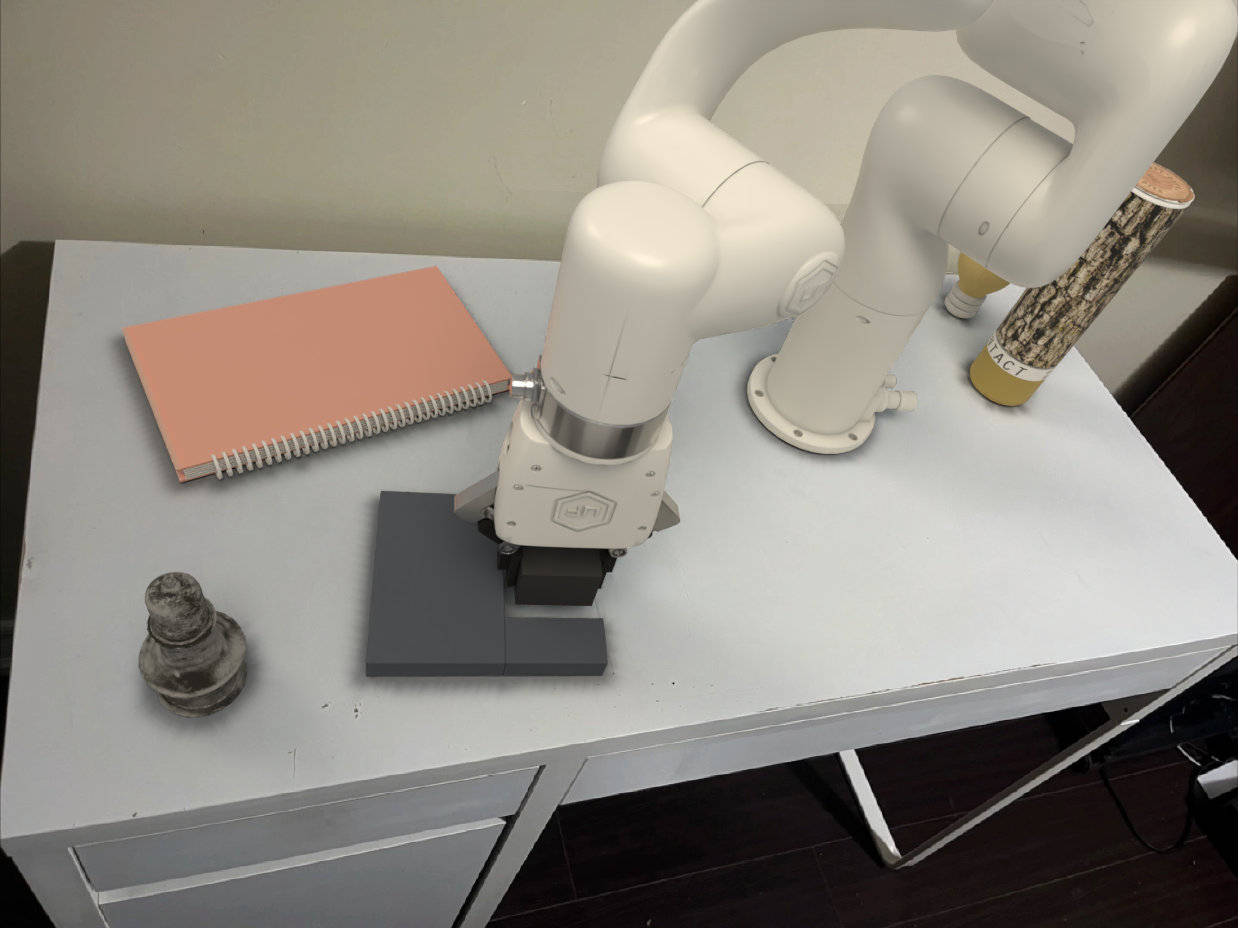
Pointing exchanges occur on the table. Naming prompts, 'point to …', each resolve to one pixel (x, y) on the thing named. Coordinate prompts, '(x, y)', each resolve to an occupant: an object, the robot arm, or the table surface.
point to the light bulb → (971, 288)
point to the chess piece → (190, 648)
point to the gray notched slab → (459, 604)
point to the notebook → (310, 369)
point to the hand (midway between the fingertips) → (552, 569)
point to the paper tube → (1077, 292)
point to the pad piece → (558, 576)
